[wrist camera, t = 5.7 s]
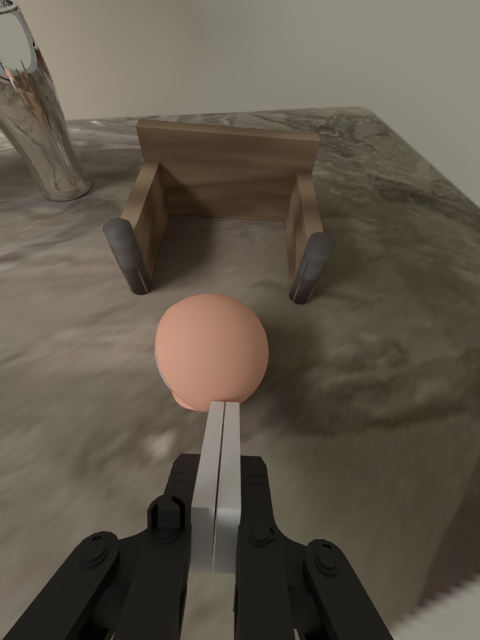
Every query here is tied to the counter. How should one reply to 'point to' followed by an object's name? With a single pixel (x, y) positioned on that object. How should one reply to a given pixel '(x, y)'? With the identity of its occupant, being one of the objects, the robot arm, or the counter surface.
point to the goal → (222, 194)
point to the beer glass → (35, 112)
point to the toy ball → (210, 351)
